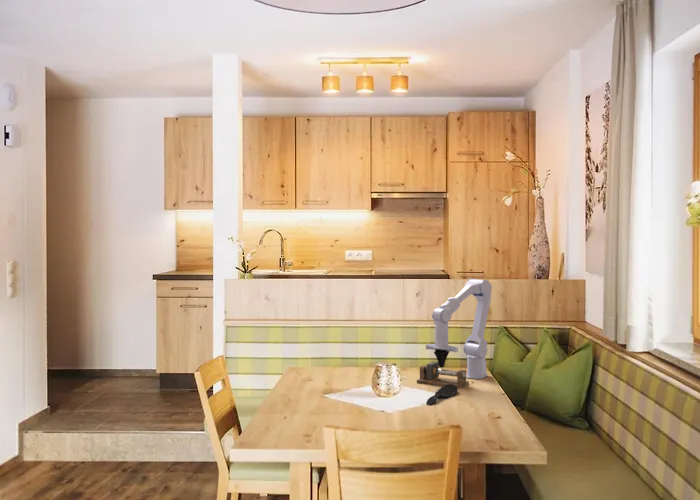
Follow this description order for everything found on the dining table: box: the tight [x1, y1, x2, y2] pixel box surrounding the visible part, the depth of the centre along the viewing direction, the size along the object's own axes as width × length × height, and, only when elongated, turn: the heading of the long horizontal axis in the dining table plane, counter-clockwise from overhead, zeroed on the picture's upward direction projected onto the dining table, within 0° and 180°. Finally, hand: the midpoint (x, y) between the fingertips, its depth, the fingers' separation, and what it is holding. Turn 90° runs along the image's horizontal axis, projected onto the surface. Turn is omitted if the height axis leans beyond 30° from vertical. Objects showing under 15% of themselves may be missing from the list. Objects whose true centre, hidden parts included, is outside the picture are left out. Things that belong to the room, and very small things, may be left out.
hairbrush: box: [426, 384, 459, 406], centre depth 268 cm, size 8×4×25 cm
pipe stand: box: [416, 364, 470, 390], centre depth 292 cm, size 10×20×6 cm, turn 56°
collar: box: [426, 361, 440, 380], centre depth 294 cm, size 7×2×7 cm, turn 146°
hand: (441, 367), depth 292 cm, fingers closed
